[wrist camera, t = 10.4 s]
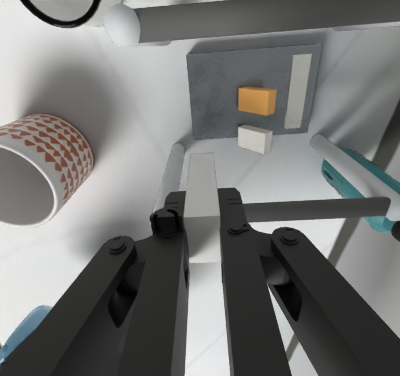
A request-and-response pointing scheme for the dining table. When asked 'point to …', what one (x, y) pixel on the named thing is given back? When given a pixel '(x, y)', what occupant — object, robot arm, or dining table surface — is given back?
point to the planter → (40, 168)
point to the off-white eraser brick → (254, 138)
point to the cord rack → (263, 23)
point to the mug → (70, 11)
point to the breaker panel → (252, 77)
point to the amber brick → (256, 100)
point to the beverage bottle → (349, 191)
